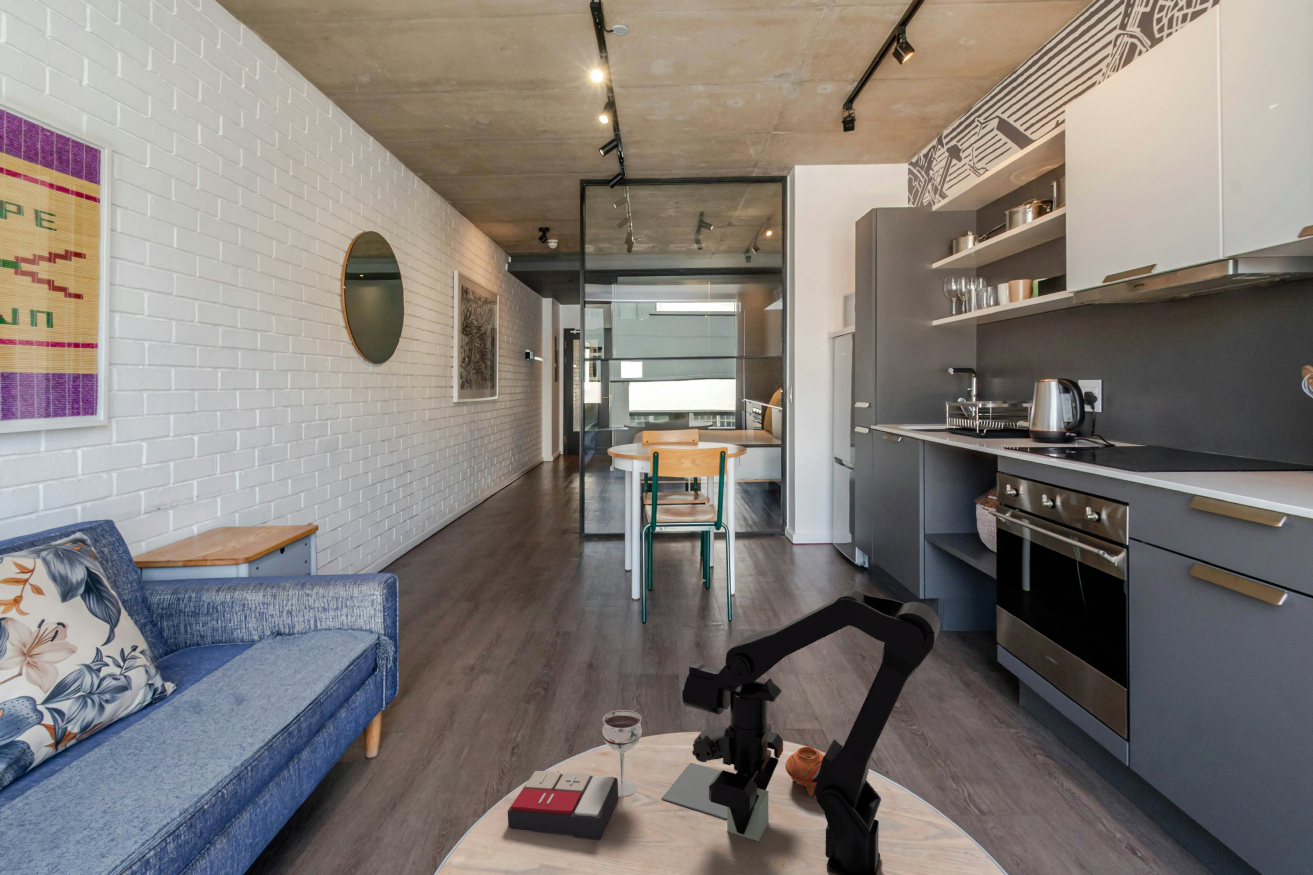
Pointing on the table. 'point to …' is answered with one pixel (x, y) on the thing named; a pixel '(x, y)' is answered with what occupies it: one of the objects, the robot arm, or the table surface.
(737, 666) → the robot arm
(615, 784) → the calculator
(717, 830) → the table surface
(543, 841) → the table surface
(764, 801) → the sage block
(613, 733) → the wineglass
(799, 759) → the pot
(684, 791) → the charcoal mat
